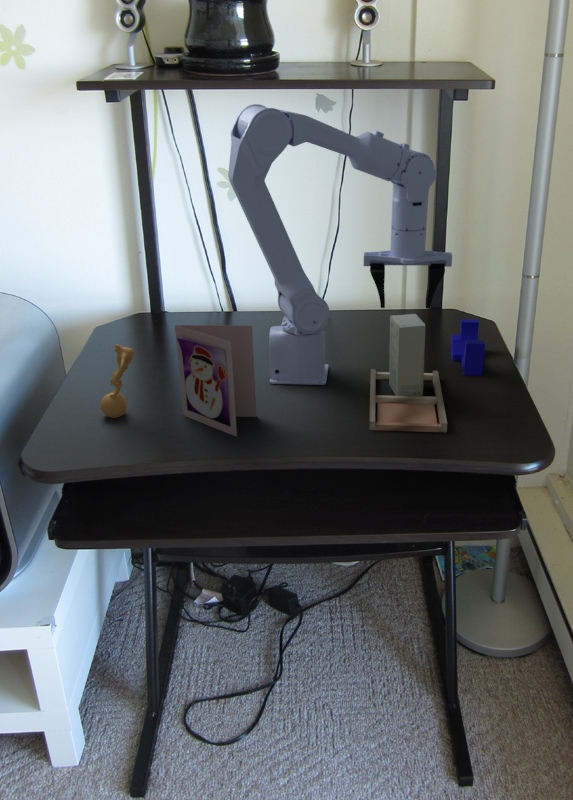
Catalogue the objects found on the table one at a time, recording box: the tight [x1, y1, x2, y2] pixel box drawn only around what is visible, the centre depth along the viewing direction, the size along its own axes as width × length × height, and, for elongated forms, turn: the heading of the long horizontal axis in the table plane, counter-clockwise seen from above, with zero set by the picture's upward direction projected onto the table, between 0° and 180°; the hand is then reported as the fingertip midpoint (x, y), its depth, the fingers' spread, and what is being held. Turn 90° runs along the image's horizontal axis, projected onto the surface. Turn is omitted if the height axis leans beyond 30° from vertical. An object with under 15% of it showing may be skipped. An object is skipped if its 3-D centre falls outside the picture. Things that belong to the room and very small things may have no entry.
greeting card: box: [174, 324, 257, 438], centre depth 109 cm, size 11×7×15 cm, turn 50°
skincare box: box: [388, 313, 427, 396], centre depth 118 cm, size 6×4×12 cm
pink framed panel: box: [368, 368, 448, 433], centre depth 116 cm, size 11×19×2 cm, turn 174°
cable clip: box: [450, 318, 486, 377], centre depth 129 cm, size 12×4×6 cm, turn 172°
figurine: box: [100, 343, 135, 419], centre depth 112 cm, size 8×6×12 cm
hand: (405, 306), depth 126 cm, fingers open, 7 cm apart
